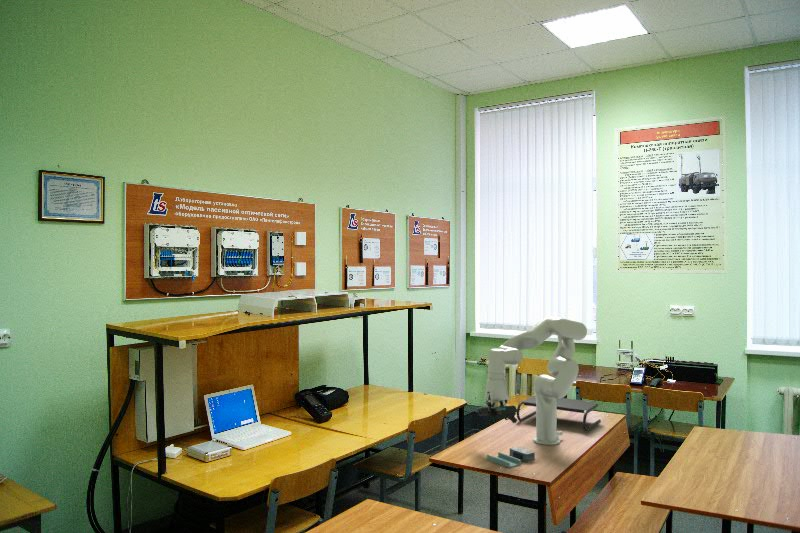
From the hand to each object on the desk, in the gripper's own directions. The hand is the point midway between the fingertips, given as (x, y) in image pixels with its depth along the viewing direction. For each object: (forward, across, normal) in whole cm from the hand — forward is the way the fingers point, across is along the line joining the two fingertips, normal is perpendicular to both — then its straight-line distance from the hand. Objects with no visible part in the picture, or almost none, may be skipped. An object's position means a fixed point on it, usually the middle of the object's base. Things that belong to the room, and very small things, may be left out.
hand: (496, 415), depth 261 cm
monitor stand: (+16, -60, -17) cm, 64 cm away
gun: (+2, 0, 0) cm, 2 cm away
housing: (+15, 0, +16) cm, 22 cm away
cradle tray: (+16, +10, +15) cm, 24 cm away
